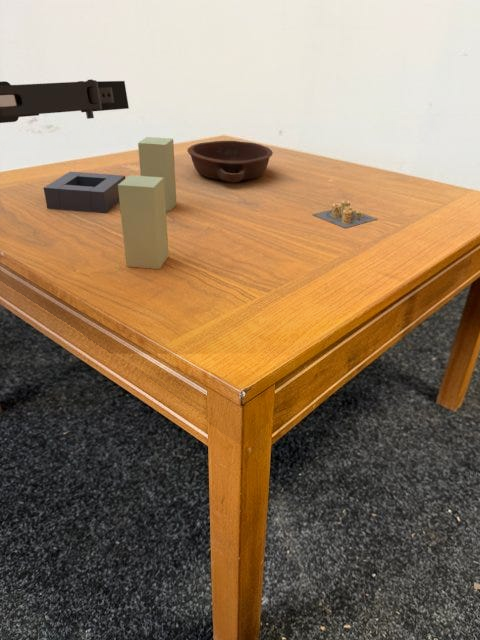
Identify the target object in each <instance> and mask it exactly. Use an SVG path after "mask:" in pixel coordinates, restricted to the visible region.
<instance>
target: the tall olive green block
mask: <svg viewBox="0 0 480 640" xmlns="http://www.w3.org/2000/svg"><path fill="white" fill-rule="evenodd" d="M118 191H119V209H120V219H121V226H122V228H121V229H122V237H123V245H124V256H125V265H126V266H125V267H131V268H142V269H155V270H160V269H161V268H162V266H163V265H164V263H165V262H166V261H167V259H168V258H169V256H170V255H169V254H170V253H169V238H168V224H167V223H168V222H167V221H168V220H167V211H166V204H165V188H164V178H162V177H148V176H141V175H135V174H134V175H132V174H129V175H128V176H127V177H125V180H123V181H122V182H121V183H120V184H118Z"/></svg>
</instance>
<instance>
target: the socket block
mask: <svg viewBox="0 0 480 640" xmlns="http://www.w3.org/2000/svg"><path fill="white" fill-rule="evenodd" d="M125 179H126V175H124V174H110V173H109V174H107V173H96V172H95V173H93V172H82V171H81V172H80V171H68V172H66V173H65V174H63V175H62V176H60V177H58V178H57V179H56V180H54V181H52V182H49V184H47V185H45V186H44V187H43V192H44V198H45V204H46V208H47V209H50V210H51V209H52V210H67V211H78V212H79V211H80V212H92V213H106V214H107V213H108V212H109V211H111V210H112V208H114V207H115V206H116V205H117V204H118V203H120V201H119V191H118V184H120V183H121V182H122V181H123V180H125Z"/></svg>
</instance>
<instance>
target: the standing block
mask: <svg viewBox="0 0 480 640" xmlns="http://www.w3.org/2000/svg"><path fill="white" fill-rule="evenodd" d="M174 145H175V144H174V138H169V137H168V138H167V137H152V136H146V137H144V138H143V139H141V140H140V141H139V142H137V147H138V158H139V160H138V161H139V170H140V171H139V172H140V176H148V177H162V178H164V188H165V204H166V213H170V212H171V211H172V209H173V208H174V207H175V206H176V205H177V203H178V202H177V186H176V185H177V184H176V166H175V164H176V163H175V146H174Z"/></svg>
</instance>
